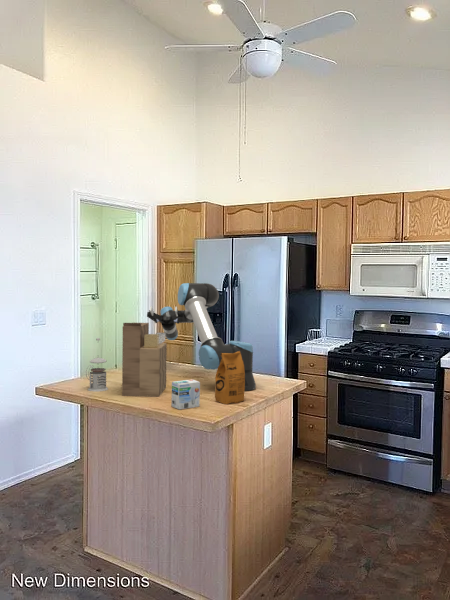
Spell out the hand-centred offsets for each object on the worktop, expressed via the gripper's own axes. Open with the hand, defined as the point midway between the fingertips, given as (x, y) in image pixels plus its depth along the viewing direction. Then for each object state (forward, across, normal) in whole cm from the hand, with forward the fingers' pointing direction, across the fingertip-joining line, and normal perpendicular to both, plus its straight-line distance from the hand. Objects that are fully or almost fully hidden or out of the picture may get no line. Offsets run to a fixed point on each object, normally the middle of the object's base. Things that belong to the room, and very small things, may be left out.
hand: (163, 308), depth 279 cm
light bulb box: (+32, -20, -62) cm, 72 cm away
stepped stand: (+10, +3, -49) cm, 50 cm away
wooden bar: (+14, -1, -26) cm, 30 cm away
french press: (+8, +27, -48) cm, 56 cm away
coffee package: (+22, -38, -56) cm, 71 cm away
